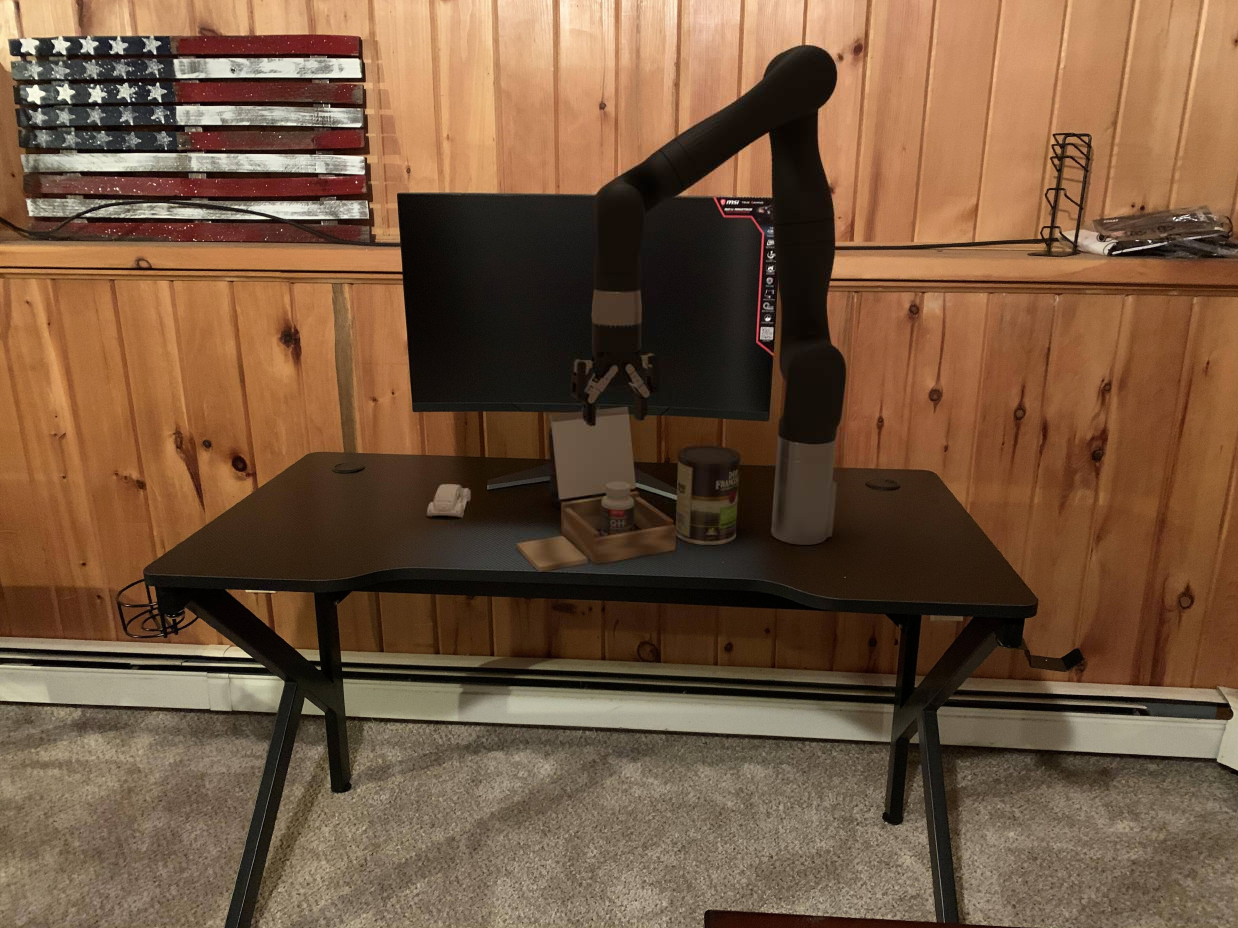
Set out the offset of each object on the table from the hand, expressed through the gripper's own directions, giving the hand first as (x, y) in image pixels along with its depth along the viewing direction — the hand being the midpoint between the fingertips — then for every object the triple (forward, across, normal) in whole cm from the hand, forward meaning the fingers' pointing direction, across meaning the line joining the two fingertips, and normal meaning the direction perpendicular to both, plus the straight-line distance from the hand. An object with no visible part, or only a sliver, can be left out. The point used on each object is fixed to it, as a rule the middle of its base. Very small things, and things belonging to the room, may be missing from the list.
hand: (615, 422), depth 145 cm
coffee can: (+20, +15, -4) cm, 26 cm away
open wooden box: (+20, 0, -1) cm, 20 cm away
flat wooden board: (+20, -12, -2) cm, 23 cm away
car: (+21, -20, +26) cm, 39 cm away
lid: (+7, 0, +9) cm, 11 cm away
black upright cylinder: (+20, 0, +18) cm, 27 cm away
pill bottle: (+20, 0, -1) cm, 20 cm away
